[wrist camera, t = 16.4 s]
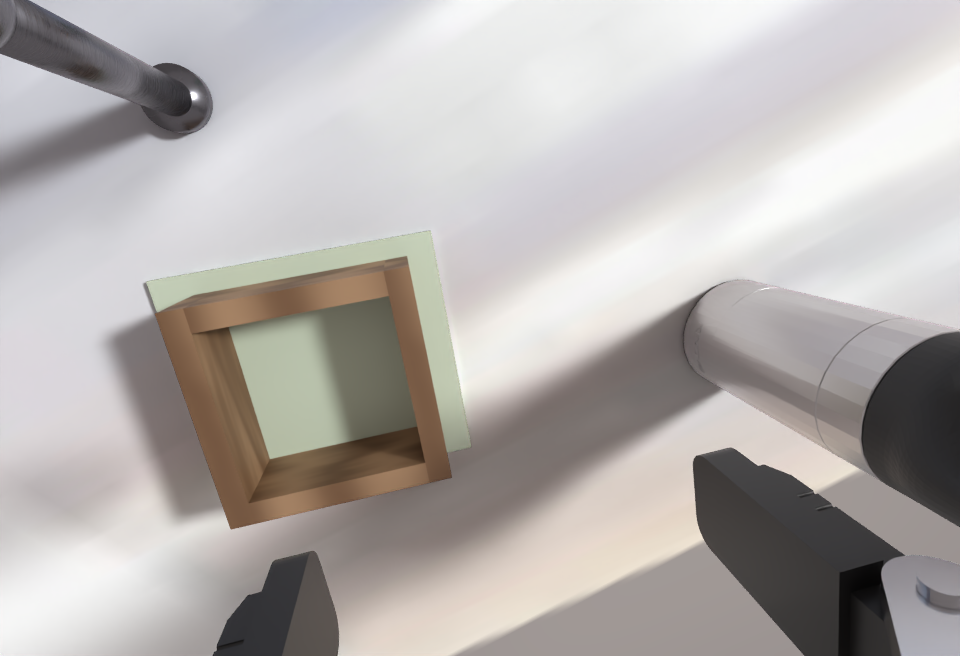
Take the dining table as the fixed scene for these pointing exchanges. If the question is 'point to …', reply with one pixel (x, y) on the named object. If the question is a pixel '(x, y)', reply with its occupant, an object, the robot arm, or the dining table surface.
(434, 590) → the dining table surface
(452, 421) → the sage mat
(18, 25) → the metal dumbbell
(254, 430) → the walnut frame
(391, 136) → the dining table surface
